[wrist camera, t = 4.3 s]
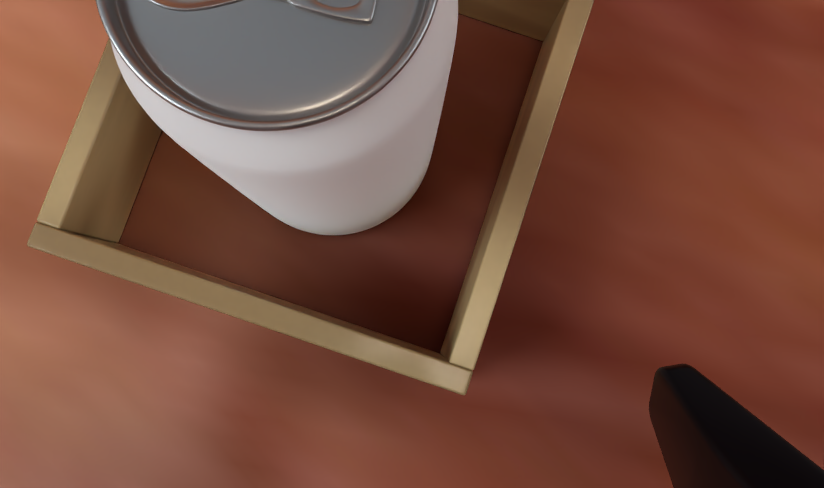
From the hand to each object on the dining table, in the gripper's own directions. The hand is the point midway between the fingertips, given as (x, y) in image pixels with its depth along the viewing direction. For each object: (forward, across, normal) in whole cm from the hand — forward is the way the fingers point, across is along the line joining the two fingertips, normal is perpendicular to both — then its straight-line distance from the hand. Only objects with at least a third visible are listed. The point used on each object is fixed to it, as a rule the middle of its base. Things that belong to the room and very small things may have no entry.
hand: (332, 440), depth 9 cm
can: (+15, 0, +4) cm, 15 cm away
